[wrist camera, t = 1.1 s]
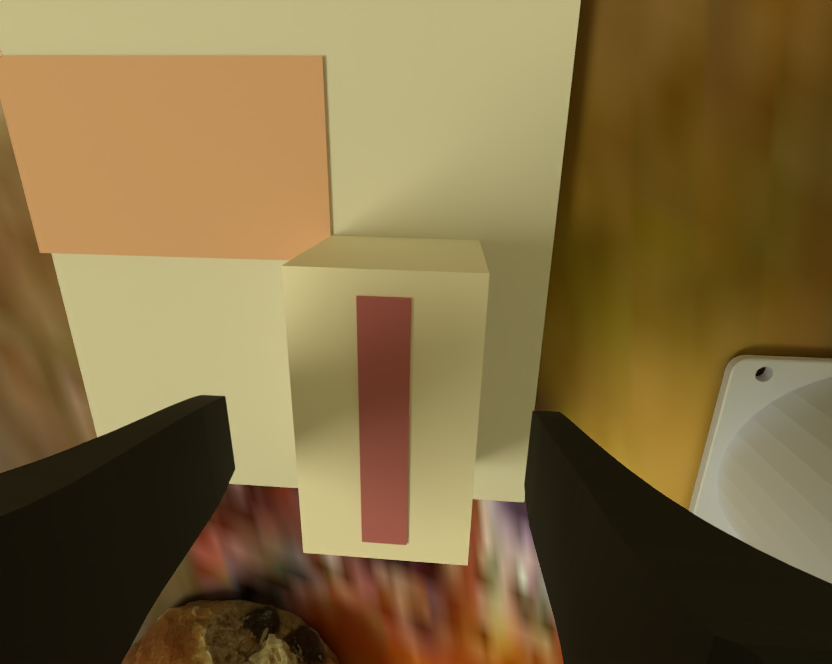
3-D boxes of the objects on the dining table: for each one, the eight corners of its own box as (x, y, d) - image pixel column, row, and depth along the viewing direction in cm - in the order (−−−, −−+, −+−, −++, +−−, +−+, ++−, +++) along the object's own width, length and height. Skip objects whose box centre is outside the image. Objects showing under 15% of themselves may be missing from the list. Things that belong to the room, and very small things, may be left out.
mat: (577, -12, 12) (584, -22, 12) (521, 491, 18) (524, 504, 17) (-6, -7, 14) (-30, -16, 13) (110, 465, 19) (97, 476, 18)
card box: (479, 240, 14) (489, 274, 10) (464, 464, 17) (467, 567, 13) (331, 235, 14) (280, 266, 10) (340, 456, 17) (302, 554, 13)
